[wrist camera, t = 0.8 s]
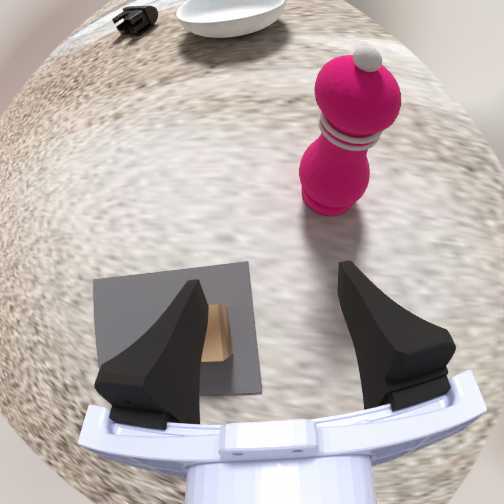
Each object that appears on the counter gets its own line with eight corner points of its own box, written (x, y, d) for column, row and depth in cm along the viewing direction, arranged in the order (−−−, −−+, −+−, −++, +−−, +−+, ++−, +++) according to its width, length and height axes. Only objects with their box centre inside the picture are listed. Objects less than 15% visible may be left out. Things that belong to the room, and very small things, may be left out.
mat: (262, 391, 26) (261, 392, 26) (103, 387, 28) (102, 388, 28) (248, 261, 30) (248, 261, 29) (94, 279, 31) (93, 279, 31)
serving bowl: (237, 1, 44) (233, -21, 38) (308, 22, 39) (308, -4, 33) (166, 37, 42) (156, 14, 36) (231, 62, 38) (224, 31, 31)
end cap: (162, 21, 45) (154, 1, 39) (140, 36, 44) (130, 16, 38) (139, 20, 47) (131, 2, 41) (119, 34, 46) (109, 17, 40)
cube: (233, 353, 27) (223, 360, 22) (187, 355, 28) (170, 362, 23) (228, 306, 28) (217, 304, 24) (183, 310, 29) (165, 308, 24)
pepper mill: (304, 225, 30) (332, 88, 11) (291, 169, 32) (293, 20, 12) (365, 215, 29) (449, 93, 10) (348, 161, 31) (392, 24, 12)
